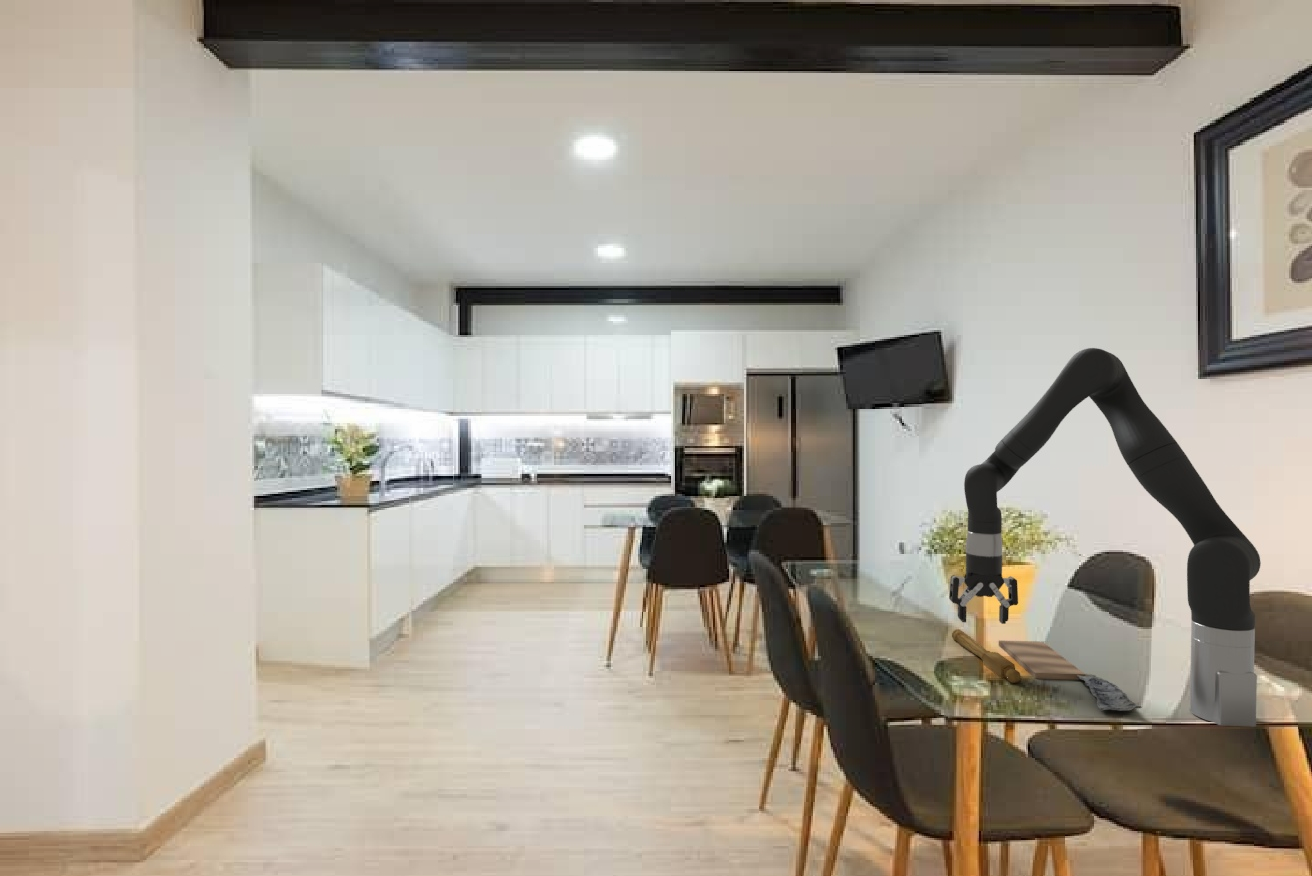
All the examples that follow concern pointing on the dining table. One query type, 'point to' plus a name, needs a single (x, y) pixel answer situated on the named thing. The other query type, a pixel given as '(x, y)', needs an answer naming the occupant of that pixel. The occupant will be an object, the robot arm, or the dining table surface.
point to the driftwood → (1107, 694)
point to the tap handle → (988, 657)
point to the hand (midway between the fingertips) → (982, 622)
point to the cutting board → (1040, 660)
